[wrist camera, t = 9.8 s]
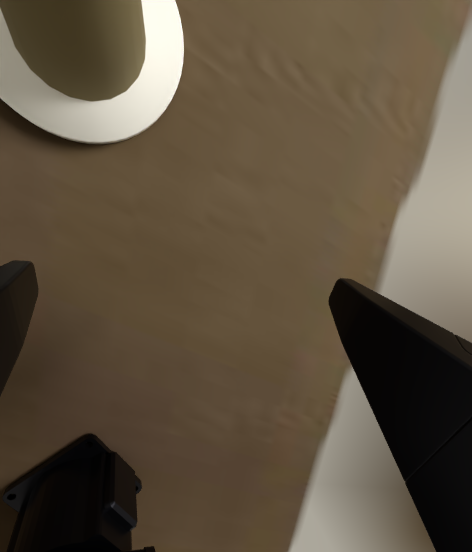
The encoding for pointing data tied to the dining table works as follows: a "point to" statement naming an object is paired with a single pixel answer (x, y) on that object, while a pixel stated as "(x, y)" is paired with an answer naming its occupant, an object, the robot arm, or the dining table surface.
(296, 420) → the dining table surface
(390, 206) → the dining table surface
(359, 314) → the robot arm
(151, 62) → the coaster
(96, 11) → the cork
